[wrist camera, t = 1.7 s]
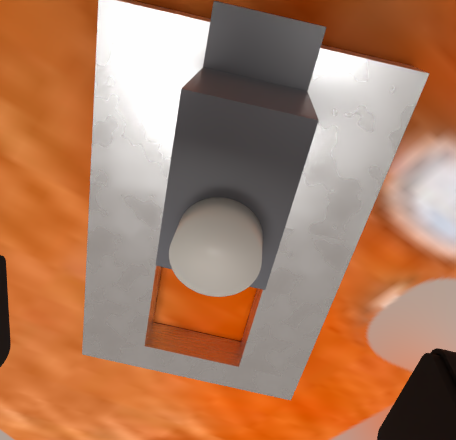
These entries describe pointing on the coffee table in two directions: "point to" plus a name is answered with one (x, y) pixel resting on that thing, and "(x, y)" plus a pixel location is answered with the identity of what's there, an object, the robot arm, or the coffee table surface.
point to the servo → (239, 150)
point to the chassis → (157, 184)
